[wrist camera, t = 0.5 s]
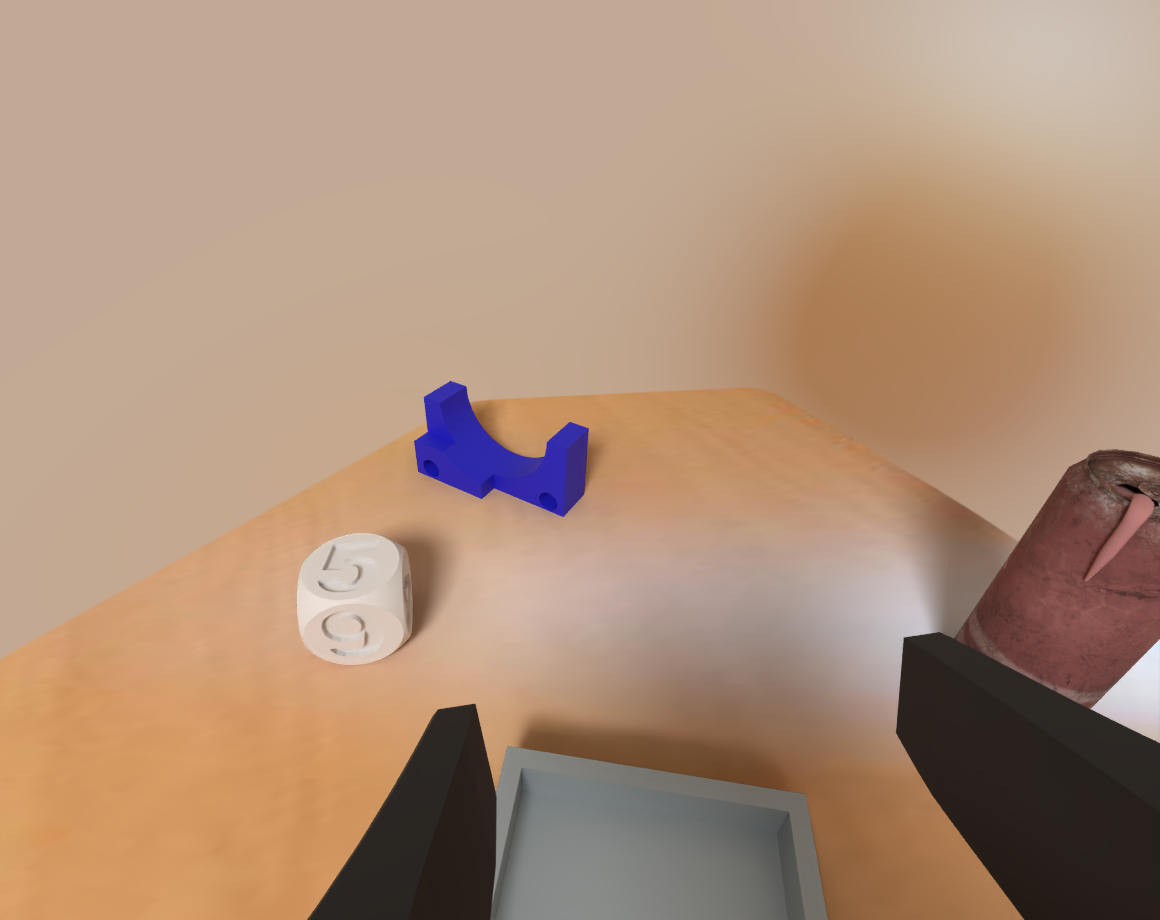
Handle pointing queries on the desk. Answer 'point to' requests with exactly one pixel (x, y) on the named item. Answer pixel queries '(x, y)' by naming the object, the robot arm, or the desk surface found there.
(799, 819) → the tray
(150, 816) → the desk surface
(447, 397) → the blue curved piece
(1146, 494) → the can
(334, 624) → the die
